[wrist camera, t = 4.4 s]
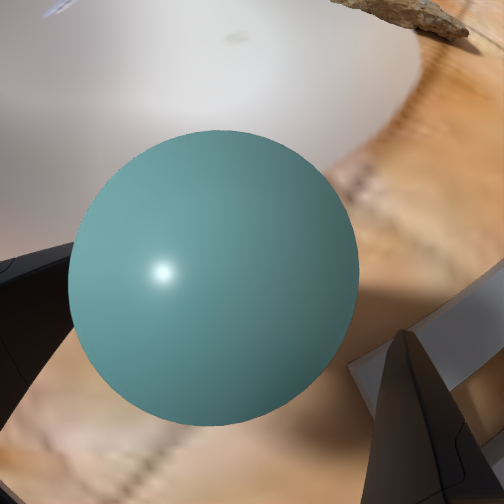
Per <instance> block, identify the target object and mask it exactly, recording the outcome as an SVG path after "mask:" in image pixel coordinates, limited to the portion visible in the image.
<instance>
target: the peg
mask: <svg viewBox="0 0 504 504" xmlns="http://www.w3.org/2000/svg"><path fill="white" fill-rule="evenodd" d="M358 284H359V259H358V249H357V244H356V239H355V235H354V230H353V228H352V225H351V222H350V219H349V217H348V214H347V211H346V210H345V208H344V206H343V204H342V202H341V200H340V198H339V197H338V195H337V193H336V192H335V190H334V189H333V188H332V186H331V185H330V184H329V182H328V181H327V180H326V178H325V177H324V176H323V175H322V174H321V173H320V172H319V171H318V170H317V169H316V168H315V167H314V166H313V165H312V164H310V163H309V162H308V161H307V160H305V159H304V158H303V157H301V156H300V155H299V154H298V153H296V152H294V151H292V150H291V149H289V148H287V147H285V146H284V145H282V144H280V143H277V142H275V141H272V140H270V139H267V138H265V137H261V136H257V135H253V134H250V133H244V132H237V131H219V130H217V131H216V130H213V131H203V132H195V133H191V134H186V135H183V136H179V137H176V138H173V139H170V140H167V141H164V142H162V143H160V144H158V145H156V146H154V147H152V148H150V149H148V150H146V151H145V152H143V153H141V154H140V155H138V156H137V157H135V158H133V159H132V160H131V161H130V162H128V163H127V164H126V165H125V166H123V167H122V168H121V169H120V170H119V171H118V172H117V173H116V174H115V175H114V176H113V177H112V178H111V179H110V180H109V181H108V182H107V183H106V184H105V186H104V187H103V188H102V189H101V191H100V192H99V193H98V194H97V196H96V197H95V199H94V200H93V202H92V204H91V205H90V207H89V208H88V210H87V212H86V214H85V216H84V218H83V220H82V222H81V225H80V227H79V230H78V233H77V236H76V238H75V241H74V245H73V249H72V254H71V258H70V266H69V274H68V294H69V303H70V311H71V315H72V319H73V323H74V327H75V330H76V333H77V336H78V338H79V341H80V343H81V346H82V348H83V349H84V351H85V353H86V355H87V357H88V359H89V361H90V362H91V364H92V365H93V366H94V368H95V369H96V371H97V372H98V373H99V375H100V376H101V377H102V378H103V379H104V380H105V381H106V382H107V384H108V385H109V386H110V387H111V388H112V389H113V390H114V391H116V392H117V393H118V394H119V395H121V396H122V397H123V398H124V399H125V400H127V401H128V402H130V403H131V404H133V405H135V406H136V407H138V408H140V409H141V410H143V411H145V412H147V413H149V414H152V415H154V416H157V417H159V418H161V419H165V420H168V421H172V422H176V423H180V424H186V425H194V426H224V425H229V424H235V423H240V422H245V421H248V420H251V419H254V418H257V417H260V416H263V415H265V414H267V413H269V412H271V411H273V410H275V409H277V408H279V407H281V406H283V405H285V404H286V403H288V402H289V401H290V400H292V399H293V398H295V397H296V396H297V395H299V394H300V393H301V392H303V391H304V390H305V389H306V388H307V387H308V386H309V385H310V384H311V383H312V382H313V381H314V380H315V379H316V378H317V377H318V376H319V375H320V374H321V373H322V372H323V370H324V369H325V368H326V366H327V365H328V364H329V363H330V361H331V360H332V359H333V357H334V356H335V354H336V352H337V350H338V348H339V347H340V345H341V343H342V341H343V339H344V338H345V335H346V333H347V330H348V327H349V325H350V322H351V320H352V317H353V313H354V309H355V304H356V300H357V295H358Z"/></svg>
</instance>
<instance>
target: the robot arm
mask: <svg viewBox="0 0 504 504" xmlns="http://www.w3.org/2000/svg"><path fill="white" fill-rule="evenodd" d="M73 245H74V242H71V243H68V244H63V245H60V246H56V247H52V248H49V249H44V250H41V251H37V252H33V253H30V254H26V255H22V256H19V257H17V258H11V259H8V260H4V261H0V431H1V430H2V428H3V427H4V425H5V424H6V422H7V420H8V419H9V417H10V416H11V414H12V413H13V411H14V410H15V408H16V407H17V405H18V404H19V402H20V401H21V399H22V398H23V396H24V395H25V393H26V392H27V390H28V389H29V387H30V386H31V384H32V383H33V381H34V380H35V379H36V377H37V376H38V374H39V373H40V372H41V370H42V369H43V367H44V366H45V365H46V363H47V362H48V361H49V359H50V358H51V356H52V355H53V354H54V352H55V351H56V350H57V348H58V347H59V346H60V344H61V343H62V342H63V340H64V339H65V338H66V337H67V335H68V334H69V333H70V331H71V330H72V329H73V327H74V323H73V319H72V315H71V311H70V303H69V294H68V274H69V266H70V258H71V254H72V249H73ZM464 421H465V419H464V417H463V415H462V413H461V412H460V410H459V408H458V406H457V404H456V402H455V400H454V399H453V397H452V395H451V393H450V391H449V390H448V388H447V386H446V384H445V383H444V381H443V379H442V377H441V376H440V374H439V372H438V370H437V369H436V367H435V365H434V364H433V362H432V360H431V359H430V357H429V355H428V354H427V352H426V350H425V349H424V347H423V345H422V344H421V342H420V341H419V339H418V337H417V336H416V334H415V333H414V332H413V331H411V330H407V329H404V328H402V329H400V330H399V331H398V332H397V334H396V336H395V338H394V339H393V341H392V343H391V344H390V346H389V348H388V350H387V353H386V358H385V363H384V368H383V373H382V378H381V383H380V388H379V393H378V398H377V404H376V412H375V421H374V429H373V436H372V443H371V449H370V456H369V462H368V468H367V473H366V479H365V484H364V489H363V494H362V499H361V503H360V504H504V489H503V487H502V485H501V483H500V481H499V480H498V478H497V476H496V475H495V473H494V471H493V469H492V468H491V466H490V464H489V463H488V461H487V459H486V458H485V456H484V454H483V452H482V451H481V449H480V447H479V446H478V444H477V442H476V440H475V438H474V436H473V434H472V432H471V430H470V429H469V427H468V425H467V423H466V422H464ZM0 504H26V503H25V502H24V501H22V500H21V499H20V498H19V497H18V496H17V495H16V494H15V493H14V492H13V491H12V490H10V489H9V488H8V487H7V486H6V485H5V484H4V483H3V482H2V481H1V480H0Z"/></svg>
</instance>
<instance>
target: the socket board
mask: <svg viewBox="0 0 504 504" xmlns="http://www.w3.org/2000/svg"><path fill="white" fill-rule="evenodd" d="M407 330H411V331H413V332H414V333H415V334H416V336H417V337H418V339H419V341H420V342H421V344H422V345H423V347H424V349H425V350H426V352H427V354H428V355H429V357H430V359H431V360H432V362H433V364H434V365H435V367H436V369H437V370H438V372H439V374H440V376H441V377H442V379H443V381H444V383H445V384H446V386H447V388H448V390H449V391H451V390H452V389H454V388H455V387H456V386H458V385H459V384H460V383H461V382H463V381H464V380H465V379H467V378H468V377H469V376H470V375H472V374H473V373H474V372H475V371H477V370H478V369H479V368H480V367H482V366H483V365H484V364H485V363H486V362H487V361H489V360H490V359H491V358H492V357H493V356H494V355H496V354H497V353H498V352H499V351H500V350H501V349H502V348H503V347H504V258H503V259H502V260H501V261H500V262H498V263H497V264H496V265H495V266H494V267H492V268H491V269H490V270H489V271H487V272H486V273H485V274H484V275H482V276H481V277H480V278H479V279H477V280H476V281H475V282H473V283H472V284H471V285H469V286H468V287H467V288H466V289H464V290H463V291H462V292H460V293H459V294H457V295H456V296H455V297H453V298H452V299H451V300H449V301H448V302H446V303H445V304H444V305H442V306H441V307H439V308H438V309H436V310H435V311H433V312H432V313H431V314H429V315H428V316H426V317H425V318H423V319H422V320H420V321H419V322H417V323H416V324H414V325H412V326H411V327H409V328H408V329H407ZM394 338H395V337H394ZM394 338H392V339H390V340H389V341H387V342H385V343H384V344H382V345H380V346H379V347H377V348H375V349H374V350H372V351H370V352H368V353H367V354H365V355H363V356H361V357H360V358H358V359H356V360H354V361H352V362H351V363H349V364H347V367H348V369H349V371H350V373H351V375H352V377H353V379H354V381H355V383H356V385H357V387H358V390H359V392H360V394H361V396H362V398H363V400H364V402H365V404H366V406H367V408H368V410H369V412H370V414H371V416H372V418H373V421H375V412H376V404H377V398H378V393H379V388H380V383H381V378H382V373H383V368H384V363H385V358H386V353H387V350H388V348H389V346H390V344H391V343H392V341H393V339H394ZM480 449H481V451H482V452H483V454H484V456H485V458H486V459H487V461H488V463H489V464H490V466H491V468H492V469H493V471H494V473H495V475H496V476H497V478H498V480H499V481H500V483H501V485H502V487H503V489H504V429H503V430H502V431H501V432H500V433H498V434H497V435H496V436H495V437H494V438H493V439H491V440H490V441H489V442H488V443H487V444H485V445H484V446H483V447H482V448H480Z"/></svg>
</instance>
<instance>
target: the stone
mask: <svg viewBox="0 0 504 504" xmlns="http://www.w3.org/2000/svg"><path fill="white" fill-rule="evenodd" d="M330 1H331V2H333V3H340V4H342V5H344V6H347V7H349V8H353V9H361V10H362V11H364V12H367V13H369V14H373V15H375V16H376V17H378V18H379V19H381V20H384V21H386V22H388V23H391V24H395V25H397V26H400V27H403V28H408V29H413V28H416V27H419V28H420V29H423V30H424V31H428V30H430V31H432V32H435V33H437V34H438V35H439V36H442V37H444V38H445V39H447V40H449V41H454V40H455V39H456V38H461V37H467V38H468V35H469V31H468V30H467V29H466V28H465V27H464V26H463V25H462V24H461V23H460V22H458V21H457V20H455V19H454V18H453V17H452V16H451V15H449V14H447V13H445V12H444V11H442V9H440V6H438V5H437V4H435V3H433V2H432V1H430V0H330Z"/></svg>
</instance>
